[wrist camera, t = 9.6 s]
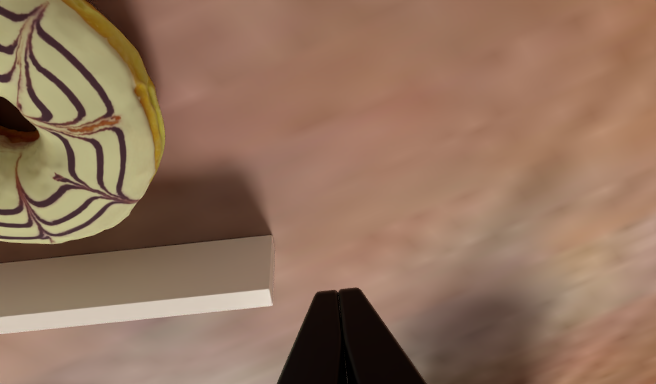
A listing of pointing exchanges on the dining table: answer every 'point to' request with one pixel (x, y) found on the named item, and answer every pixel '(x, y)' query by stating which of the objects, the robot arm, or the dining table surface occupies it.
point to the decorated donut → (72, 122)
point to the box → (137, 284)
